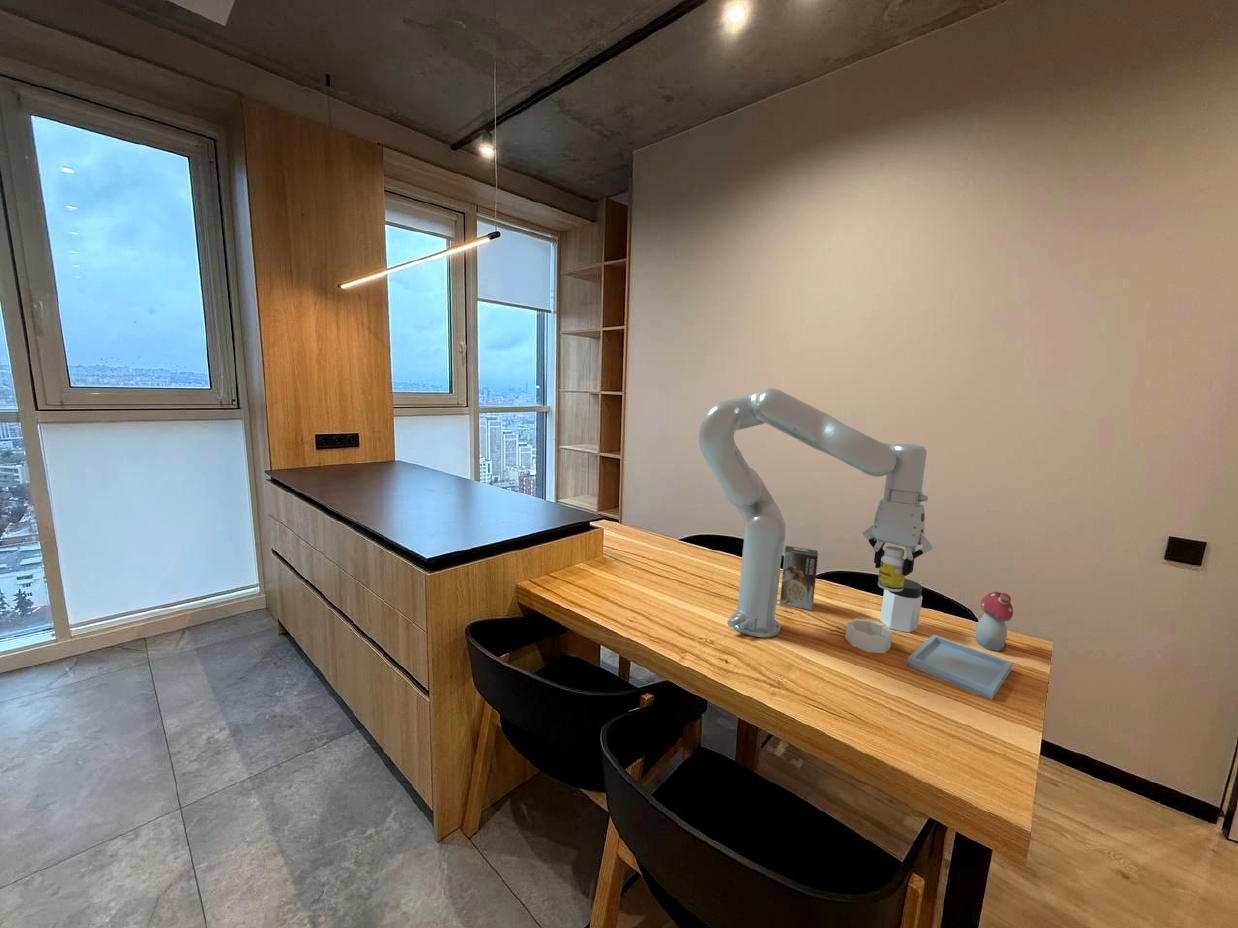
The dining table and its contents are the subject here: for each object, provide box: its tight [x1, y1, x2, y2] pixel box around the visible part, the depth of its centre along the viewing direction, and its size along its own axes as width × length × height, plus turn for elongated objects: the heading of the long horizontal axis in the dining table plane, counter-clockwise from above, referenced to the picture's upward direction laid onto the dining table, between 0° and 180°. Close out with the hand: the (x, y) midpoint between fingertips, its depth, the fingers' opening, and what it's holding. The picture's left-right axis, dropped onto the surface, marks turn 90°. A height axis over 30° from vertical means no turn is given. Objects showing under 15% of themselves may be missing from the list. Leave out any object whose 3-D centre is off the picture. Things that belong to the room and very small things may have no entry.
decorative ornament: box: [975, 591, 1014, 652], centre depth 124 cm, size 9×7×15 cm
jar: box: [879, 578, 923, 633], centre depth 132 cm, size 9×8×12 cm
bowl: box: [845, 618, 893, 654], centre depth 122 cm, size 9×9×4 cm
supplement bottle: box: [877, 545, 906, 592], centre depth 118 cm, size 5×5×10 cm
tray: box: [906, 634, 1013, 700], centre depth 113 cm, size 18×16×2 cm
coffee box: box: [779, 545, 819, 611], centre depth 142 cm, size 9×6×16 cm
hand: (892, 569), depth 118 cm, fingers closed on supplement bottle, 5 cm apart
